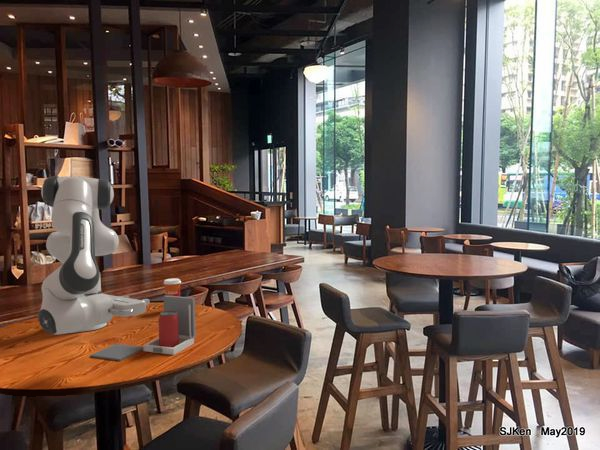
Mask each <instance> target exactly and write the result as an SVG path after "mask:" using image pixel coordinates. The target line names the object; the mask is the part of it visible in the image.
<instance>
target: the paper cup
mask: <svg viewBox="0 0 600 450" xmlns="http://www.w3.org/2000/svg"><path fill="white" fill-rule="evenodd" d="M181 283H182V281H181V279H180V278H166V279H164V281H163V287H164V296H178V297H181Z"/></svg>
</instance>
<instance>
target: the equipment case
mask: <svg viewBox="0 0 600 450" xmlns="http://www.w3.org/2000/svg"><path fill="white" fill-rule="evenodd" d="M195 300H196V298H195V297H190V296H189V297H187V296H180V297H178V296H165V295H163V312H164V311H175V312H177V313H176V314H177V316H178V326H179V345H177V346H175V347H173V348H172V347H163V346H159V337H158V338H155V339H153V340H151V341H149V342H147V343H145V344H143V346H142V347H143V350H142V351H143V352H148V353H149V352H150V353H156V354H163V355H164V354H165V355H172V356H175V355H176V354H179V353H180V352H182V351H183V350H186V349H188V348H189V347H190V346H192V345H194V344H195V339H196V338H197V333H196V332H197V330H196V329H197V327H196V301H195Z"/></svg>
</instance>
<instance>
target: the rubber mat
mask: <svg viewBox="0 0 600 450" xmlns="http://www.w3.org/2000/svg"><path fill="white" fill-rule="evenodd" d="M142 351H143V346H137V345H132V344H131V345H130V344H129V345H128V344H120V343H115V344H112V345H110V346H107V347H106V348H103V349H100V350H99V351H96V352H95V353H91V354H90V355H89V358H97V359H103V360H109V361H116V360H117V361H118V362H121V361H123V360H125V359H127V358H129V357H131V356H134V355H136V354H137V353H140V352H142Z"/></svg>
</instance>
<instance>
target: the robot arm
mask: <svg viewBox="0 0 600 450" xmlns="http://www.w3.org/2000/svg"><path fill="white" fill-rule="evenodd" d="M42 183H43V184H42V186H41V190H40V191H41V192H40V195H41V197H42V200H43V203H44V204H45V205H47V206H48V207H52V213H51V221H52V222H51V223H52V226H53V228H54V229H55V231H53V232H51V233H50V234H49V235H48V237H47V239H46V243H45V247H46V250H47V252H48V254H49V255H51V257H52V258H55V259H57V260H58V261H59V262H60V263H61V265H60V266H59V267H58V268H56V269H55V270H54V271H53V272H51V273H50V274H49V275H47V277H45V278H44V279H43V280H42V283H41V286H40V292H41V295H42V300H41V301H42V302H41V307H40V309H39V311H38V315H37V316H38V317H37V318H38V322H39V325H40V327H41V329H42V330H43V331H44V332H45V333H48V334H51V335H65V334H74V333H80V332H81V333H83V332H90V331H95V330H99V329H102V328H104V327H106V326H107V325H108V323H110V321H112V319H113V316H116V317H122V318H123V317H124V318H125V317H133V316H137V315H142V314H145V313H146V311H147V306H149V305H150V299H149V298H143V299H137V298H131V297H130V295H121V296H118V295H111V294H106V293H103V290H102V286H101V285H102V284H101V283H102V282H101V281H102V280H101V272H100V269H99V265H98V263H97V259H96V257H103V256H107V255H111V254H114V253H115V252H116V251H117V250H118V248H119V243H120V240H119V235H118V234H117V233H116V231H115V230H113V229H112V228H109V227H107V226H106V225H105V224H104V223H102V221H101V218H100V211H99V210H104V209H107V208H109V207H110V206H111V204H112V202H113V201H114V197H115V194H114V193H115V192H114V188H113V185H112V183H111V181H109V180H107V179H104V178H94V177H88V176H59V175H52V176H48V177H47V178H46V179H44V180H43V182H42Z"/></svg>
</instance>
